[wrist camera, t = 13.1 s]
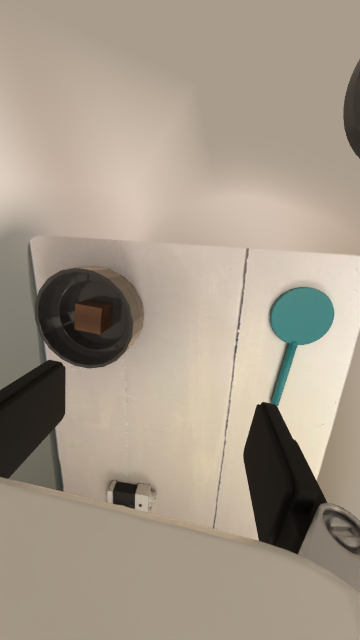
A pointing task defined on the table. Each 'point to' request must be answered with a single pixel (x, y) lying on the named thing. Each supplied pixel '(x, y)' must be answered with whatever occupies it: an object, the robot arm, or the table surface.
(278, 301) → the teal lollipop paddle
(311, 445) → the table surface
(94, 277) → the shallow round bowl
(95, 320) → the block
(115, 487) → the camera
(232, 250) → the table surface
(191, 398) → the table surface
